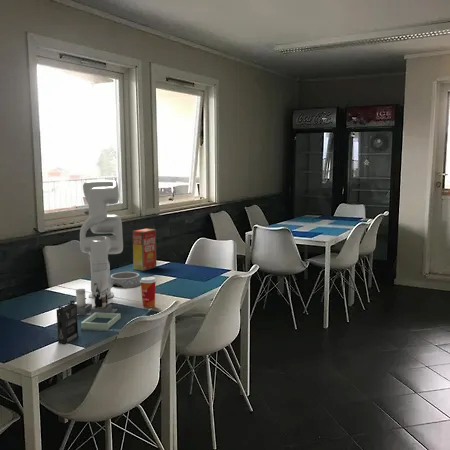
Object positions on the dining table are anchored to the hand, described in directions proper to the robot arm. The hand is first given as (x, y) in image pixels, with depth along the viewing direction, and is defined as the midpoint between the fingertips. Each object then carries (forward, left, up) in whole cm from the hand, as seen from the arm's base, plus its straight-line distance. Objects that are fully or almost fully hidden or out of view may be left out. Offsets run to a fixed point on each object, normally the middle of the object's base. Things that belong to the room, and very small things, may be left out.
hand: (101, 304), depth 233 cm
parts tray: (+14, +6, -4) cm, 16 cm away
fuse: (0, -10, -3) cm, 11 cm away
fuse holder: (0, -5, -4) cm, 7 cm away
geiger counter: (+33, 0, -5) cm, 33 cm away
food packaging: (-93, -11, -5) cm, 94 cm away
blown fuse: (0, 0, -3) cm, 3 cm away
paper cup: (-14, +18, -5) cm, 23 cm away
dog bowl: (-54, -9, -5) cm, 55 cm away
